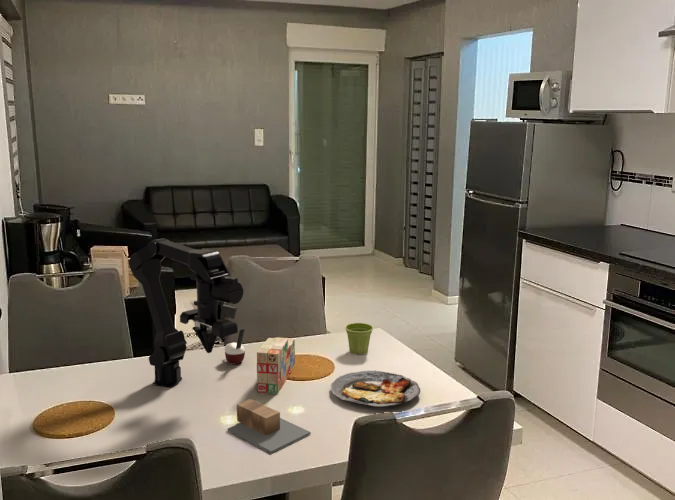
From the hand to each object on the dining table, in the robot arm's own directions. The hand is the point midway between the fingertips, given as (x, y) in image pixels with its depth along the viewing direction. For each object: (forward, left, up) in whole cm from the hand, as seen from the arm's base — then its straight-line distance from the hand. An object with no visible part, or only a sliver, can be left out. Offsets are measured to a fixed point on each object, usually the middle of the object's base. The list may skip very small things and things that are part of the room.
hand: (209, 352), depth 174 cm
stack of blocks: (+14, +17, -13) cm, 26 cm away
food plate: (+44, +15, -14) cm, 48 cm away
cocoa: (-3, +26, -13) cm, 29 cm away
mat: (+22, -15, -13) cm, 30 cm away
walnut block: (+14, -11, -10) cm, 20 cm away
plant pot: (+33, +46, -13) cm, 58 cm away
